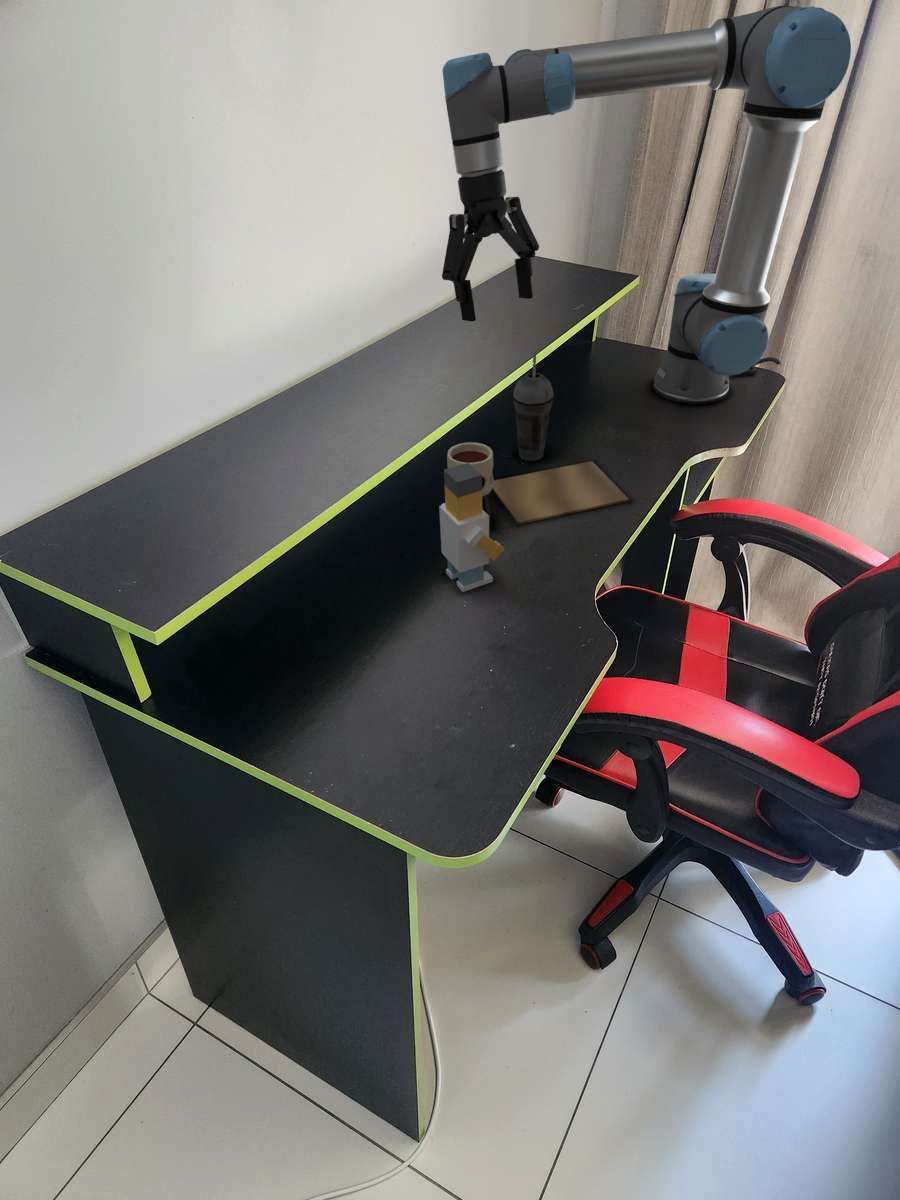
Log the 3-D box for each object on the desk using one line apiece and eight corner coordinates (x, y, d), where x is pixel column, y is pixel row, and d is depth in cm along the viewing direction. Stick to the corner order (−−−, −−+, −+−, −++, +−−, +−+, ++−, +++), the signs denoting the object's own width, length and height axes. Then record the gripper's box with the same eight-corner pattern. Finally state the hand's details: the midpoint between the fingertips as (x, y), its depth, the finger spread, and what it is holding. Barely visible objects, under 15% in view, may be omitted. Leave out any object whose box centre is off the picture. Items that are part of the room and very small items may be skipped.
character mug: (468, 546, 122) (466, 474, 114) (433, 531, 126) (429, 460, 118) (508, 516, 129) (509, 445, 121) (474, 502, 133) (473, 433, 124)
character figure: (451, 556, 121) (447, 452, 109) (512, 573, 117) (515, 467, 105) (427, 584, 115) (420, 477, 104) (490, 603, 111) (490, 494, 100)
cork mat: (591, 463, 142) (592, 460, 141) (628, 501, 131) (628, 498, 131) (488, 483, 137) (488, 481, 137) (518, 524, 127) (518, 522, 126)
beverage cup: (550, 445, 147) (556, 341, 135) (550, 464, 142) (556, 358, 129) (512, 445, 148) (514, 341, 135) (510, 464, 142) (512, 357, 130)
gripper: (519, 158, 133) (533, 287, 144) (405, 190, 121) (430, 328, 133) (551, 155, 127) (563, 290, 139) (434, 188, 116) (458, 332, 127)
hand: (498, 309), depth 136 cm, fingers open, 13 cm apart
